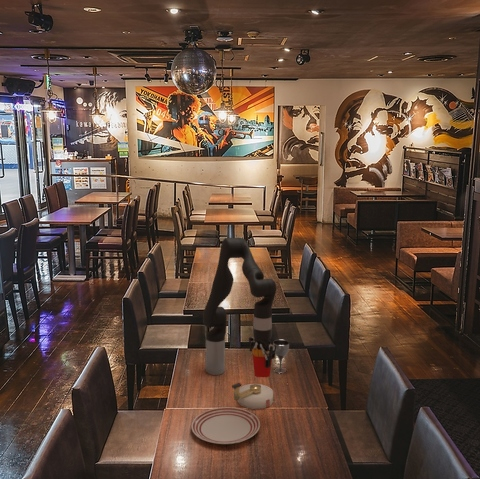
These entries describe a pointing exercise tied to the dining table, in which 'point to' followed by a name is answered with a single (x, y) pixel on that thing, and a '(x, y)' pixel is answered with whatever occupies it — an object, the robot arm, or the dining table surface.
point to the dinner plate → (225, 425)
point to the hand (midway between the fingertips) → (261, 364)
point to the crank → (253, 390)
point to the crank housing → (256, 398)
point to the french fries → (260, 364)
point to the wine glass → (281, 352)
